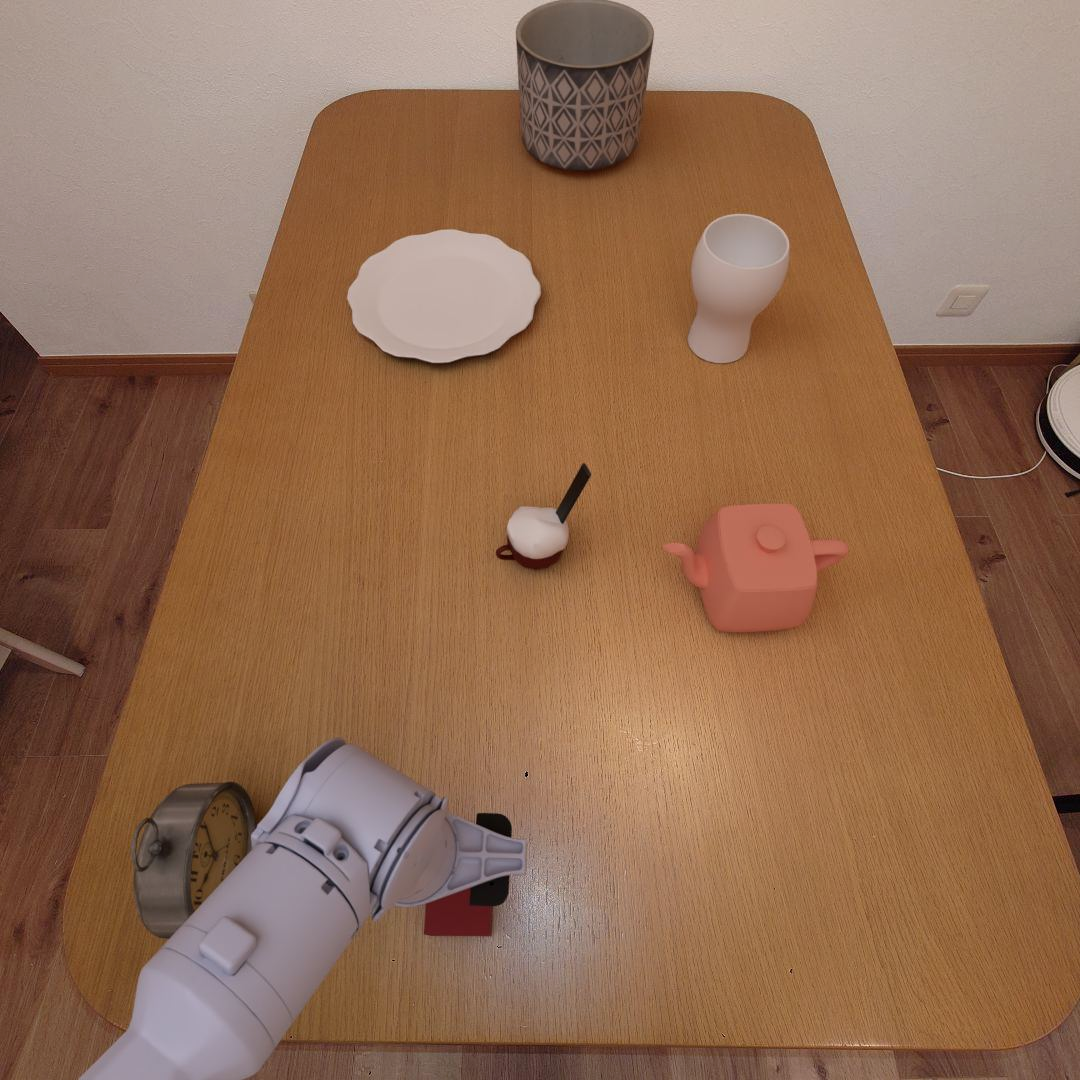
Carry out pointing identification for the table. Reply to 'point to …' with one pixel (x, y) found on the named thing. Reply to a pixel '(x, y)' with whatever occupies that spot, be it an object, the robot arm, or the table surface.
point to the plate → (444, 296)
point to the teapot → (757, 567)
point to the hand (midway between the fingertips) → (432, 864)
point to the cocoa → (542, 529)
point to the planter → (582, 82)
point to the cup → (734, 282)
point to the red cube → (457, 917)
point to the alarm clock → (189, 851)
